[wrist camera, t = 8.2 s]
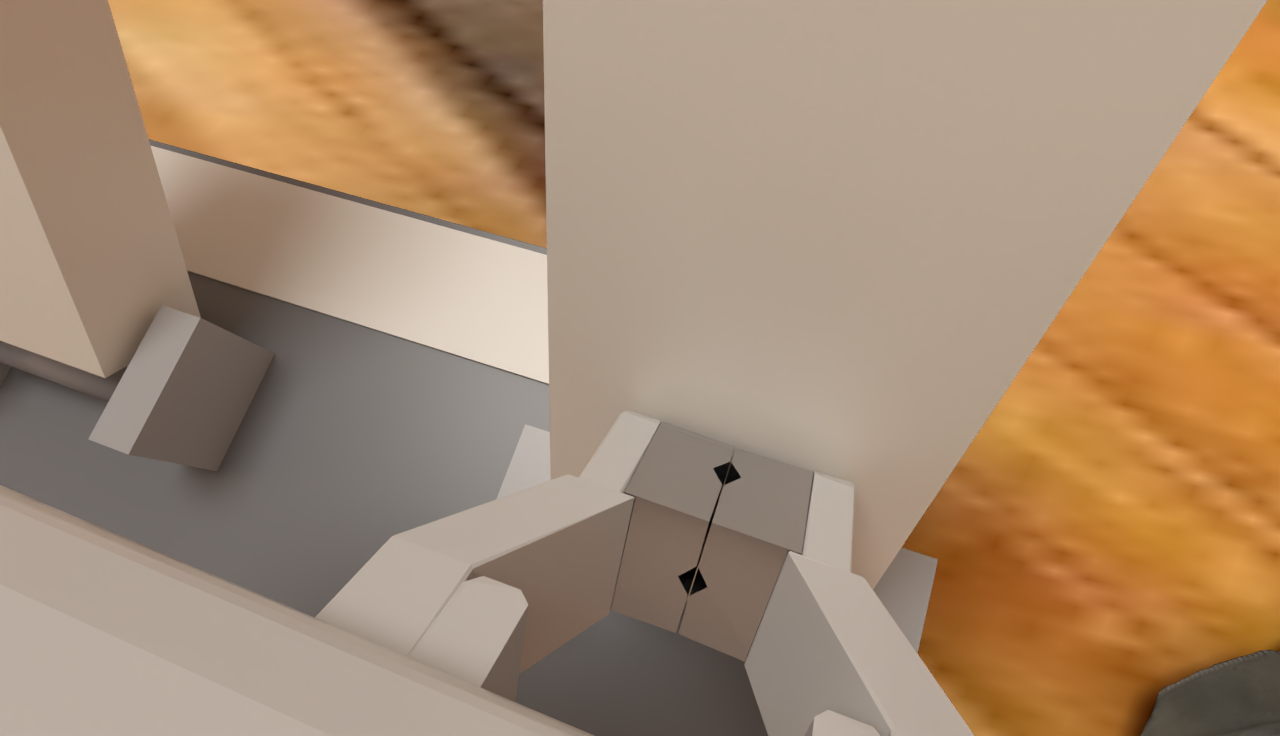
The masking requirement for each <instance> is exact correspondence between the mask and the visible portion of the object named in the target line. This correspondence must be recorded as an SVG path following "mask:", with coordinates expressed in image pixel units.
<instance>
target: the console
mask: <svg viewBox="0 0 1280 736" xmlns="http://www.w3.org/2000/svg"><path fill="white" fill-rule="evenodd" d="M149 143H150V146H151V149H152V153H153V156H154V160H155V163H156V167H157V170H158V173H159V177H160V180H161V184H162V187H163V190H164V194H165V197H166V201H167V204H168V207H169V211H170V214H171V218H172V221H173V224H174V228H175V231H176V235H177V238H178V242H179V245H180V248H181V252H182V255H183V259H184V262H185V265H186V269H187V272H188V276H189V279H190V282H191V286H192V289H193V293H194V296H195V300H196V303H197V306H198V310H199V313H200V317H201V318H200V317H197V316H194V315H191V314H188V313H185V312H182V311H178V310H175V309H172V308H169V307H166V306H163V305H161V307H160V308H159V310H158V312H157V314H156V316H155V318H154V319H153V321H152V323H151V325H150V327H149V329H148V330H147V332H146V334H145V336H144V338H143V340H142V341H141V343H140V345H139V347H138V349H137V351H136V352H135V354H134V356H133V358H132V360H131V362H130V363H129V365H128V367H127V369H126V371H125V373H124V374H123V376H122V378H121V380H120V382H119V384H118V385H117V387H116V389H115V391H114V393H113V395H112V396H111V398H110V400H109V402H107V401H105V400H102V399H99V398H97V397H94V396H91V395H88V394H86V393H83V392H80V391H77V390H75V389H72V388H69V387H66V386H64V385H61V384H58V383H55V382H53V381H50V380H47V379H45V378H42V377H39V376H36V375H34V374H31V373H28V372H25V371H23V370H20V369H17V368H14V367H12V366H9V365H6V364H4V363H1V362H0V485H2V486H4V487H6V488H9V489H11V490H13V491H16V492H18V493H21V494H23V495H25V496H28V497H30V498H32V499H35V500H37V501H40V502H42V503H44V504H47V505H49V506H51V507H54V508H56V509H59V510H61V511H63V512H66V513H68V514H70V515H73V516H75V517H78V518H80V519H82V520H85V521H87V522H89V523H92V524H94V525H97V526H99V527H101V528H104V529H106V530H108V531H111V532H113V533H116V534H118V535H120V536H123V537H125V538H127V539H130V540H132V541H135V542H137V543H139V544H142V545H144V546H146V547H149V548H151V549H154V550H156V551H158V552H161V553H163V554H165V555H168V556H170V557H173V558H175V559H177V560H180V561H182V562H184V563H187V564H189V565H192V566H194V567H196V568H199V569H201V570H203V571H206V572H208V573H211V574H213V575H215V576H218V577H220V578H222V579H225V580H227V581H229V582H232V583H234V584H237V585H239V586H241V587H244V588H246V589H248V590H251V591H253V592H256V593H258V594H260V595H263V596H265V597H267V598H270V599H272V600H275V601H277V602H279V603H282V604H284V605H286V606H289V607H291V608H294V609H296V610H298V611H301V612H303V613H305V614H308V615H310V616H313V617H316V616H317V615H318V614H319V613H320V612H321V610H322V609H323V608H324V607H325V606H326V605H327V604H328V603H329V602H330V601H331V600H332V599H333V598H334V597H335V596H336V595H337V594H338V593H339V591H340V590H341V589H342V588H343V587H344V586H345V585H346V584H347V583H348V582H349V581H350V580H351V579H352V578H353V577H354V576H355V575H356V574H357V572H358V571H359V570H360V569H361V568H362V567H363V566H364V565H365V564H366V563H367V562H368V561H369V560H370V559H371V558H372V557H373V556H374V554H375V553H376V552H377V551H378V550H379V549H380V548H381V547H382V546H383V545H384V544H385V543H386V542H387V541H388V540H389V539H390V538H391V537H392V536H394V535H396V534H399V533H402V532H405V531H408V530H411V529H414V528H416V527H419V526H422V525H425V524H428V523H431V522H433V521H436V520H439V519H442V518H445V517H448V516H450V515H453V514H456V513H459V512H462V511H465V510H467V509H470V508H473V507H476V506H479V505H482V504H485V503H487V502H490V501H493V500H496V499H499V498H502V497H504V496H507V495H510V494H513V493H516V492H519V491H521V490H524V489H527V488H530V487H533V486H536V485H539V484H541V483H544V482H547V481H550V480H551V476H550V413H549V350H548V287H547V248H543V247H539V246H536V245H532V244H528V243H525V242H521V241H517V240H514V239H510V238H507V237H503V236H499V235H496V234H492V233H488V232H485V231H481V230H477V229H474V228H470V227H466V226H463V225H459V224H456V223H452V222H448V221H445V220H441V219H437V218H434V217H430V216H426V215H423V214H419V213H415V212H412V211H408V210H405V209H401V208H397V207H394V206H390V205H386V204H383V203H379V202H375V201H372V200H368V199H364V198H361V197H357V196H354V195H350V194H346V193H343V192H339V191H335V190H332V189H328V188H324V187H321V186H317V185H313V184H310V183H306V182H303V181H299V180H295V179H292V178H288V177H284V176H281V175H277V174H273V173H270V172H266V171H262V170H259V169H255V168H252V167H248V166H244V165H241V164H237V163H233V162H230V161H226V160H222V159H219V158H215V157H211V156H208V155H204V154H201V153H197V152H193V151H190V150H186V149H182V148H179V147H175V146H171V145H168V144H164V143H160V142H157V141H153V140H150V139H149ZM937 563H938V559H935V558H932V557H929V556H926V555H923V554H920V553H917V552H914V551H911V550H908V549H905V548H902V547H901V549H900V550H899V552H898V553H897V555H896V556H895V558H894V559H893V561H892V562H891V564H890V565H889V567H888V568H887V570H886V571H885V573H884V574H883V576H882V577H881V579H880V580H879V582H878V583H877V585H876V586H875V588H874V589H873V590H874V592H875V593H876V595H877V596H878V598H879V599H880V600H881V602H882V603H883V605H884V606H885V608H886V609H887V610H888V612H889V613H890V615H891V616H892V618H893V619H894V621H895V622H896V623H897V625H898V626H899V628H900V629H901V631H902V632H903V633H904V635H905V636H906V638H907V639H908V641H909V642H910V644H911V645H912V646H913V648H914V649H915V651H916V652H917V653H918V649H919V644H920V640H921V635H922V631H923V626H924V622H925V617H926V613H927V608H928V603H929V599H930V594H931V590H932V585H933V581H934V576H935V572H936V567H937ZM684 613H685V612H683V614H682V617H681V620H680V622H679V625H678V628H677V631H676V633H674V632H671V631H669V630H666V629H663V628H660V627H657V626H654V625H652V624H649V623H646V622H643V621H640V620H637V619H634V618H632V617H629V616H626V615H623V614H620V613H617V612H615V611H612V610H610V612H609V614H608V615H607V616H605V617H604V618H602V619H601V620H599V621H598V622H596V623H595V624H593V625H592V626H590V627H589V628H587V629H586V630H584V631H583V632H581V633H580V634H578V635H577V636H575V637H574V638H572V639H571V640H569V641H568V642H567V643H565V644H564V645H562V646H561V647H559V648H558V649H556V650H555V651H553V652H552V653H550V654H549V655H547V656H546V657H544V658H543V659H541V660H540V661H538V662H537V663H535V664H534V665H532V666H531V667H529V668H528V669H526V670H525V671H523V672H522V673H520V674H519V680H518V688H517V696H516V703H518V704H521V705H523V706H526V707H528V708H530V709H533V710H535V711H537V712H540V713H542V714H544V715H547V716H549V717H552V718H554V719H556V720H559V721H561V722H563V723H566V724H568V725H571V726H573V727H575V728H578V729H580V730H582V731H585V732H587V733H590V734H592V735H594V736H768V734H767V731H766V728H765V725H764V722H763V719H762V716H761V713H760V710H759V707H758V704H757V701H756V698H755V695H754V692H753V689H752V686H751V683H750V680H749V677H748V675H747V672H746V669H745V666H744V664H745V661H742V660H740V659H737V658H735V657H732V656H730V655H728V654H725V653H723V652H720V651H718V650H716V649H713V648H711V647H708V646H706V645H703V644H701V643H699V642H696V641H694V640H691V639H689V638H687V637H684V636H682V635H679V630H680V627H681V623H682V620H683V616H684Z"/></svg>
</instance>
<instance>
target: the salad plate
mask: <svg viewBox="0 0 1280 736" xmlns="http://www.w3.org/2000/svg"><path fill="white" fill-rule="evenodd" d="M1140 736H1280V650H1279V651H1277V652H1276V651H1272V650H1264V651H1258V652H1255V653H1253V654H1250V655H1246V656H1242V657H1238V658H1234V659H1231V660H1228V661H1225V662H1221V663H1218V664H1215V665H1213V666H1212V667H1210V668H1207V669H1204V670H1200V671H1198V672H1196V673H1194V674H1193V675H1191V676H1189V677H1187V678H1184V679H1182V680H1181V681H1179V682H1177V683H1175V684H1171V685H1169V686H1167V687H1165V688H1163V689H1162V690H1161V691H1160V692H1159V693H1158V696H1157V699H1156V702H1155V705H1154V708H1153V711H1152V714H1151V717H1150V718H1149V720H1148V721H1147V722H1146V724H1145V727H1144V730H1143V733H1142V734H1141V735H1140Z"/></svg>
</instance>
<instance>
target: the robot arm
mask: <svg viewBox="0 0 1280 736" xmlns="http://www.w3.org/2000/svg"><path fill="white" fill-rule="evenodd" d="M734 449H735V446H732V445H729V444H726V443H723V442H721V441H718V440H715V439H712V438H709V437H706V436H703V435H700V434H698V433H695V432H692V431H689V430H686V429H683V428H680V427H677V426H675V425H672V424H669V423H666V422H661V421H660V420H658V419H654V418H651V417H648V416H645V415H642V414H639V413H636V412H633V411H629V410H626V411H624V412H622V413H621V414H620V415H619V417H618V418H617V420H616V421H615V423H614V425H613V426H612V428H611V429H610V431H609V432H608V434H607V435H606V437H605V438H604V440H603V441H602V443H601V444H600V446H599V447H598V449H597V451H596V452H595V454H594V455H593V457H592V458H591V460H590V461H589V463H588V464H587V466H586V467H585V469H584V470H583V472H582V473H581V475H580V477H579V478H578V477H575V476H573V475H570V474H567V475H564V476H561V477H558V478H556V479H553V480H550V481H547V482H544V483H541V484H539V485H536V486H533V487H530V488H527V489H524V490H521V491H519V492H516V493H513V494H510V495H507V496H504V497H502V498H499V499H496V500H493V501H490V502H487V503H485V504H482V505H479V506H476V507H473V508H470V509H467V510H465V511H462V512H459V513H456V514H453V515H450V516H448V517H445V518H442V519H439V520H436V521H433V522H431V523H428V524H425V525H422V526H419V527H416V528H414V529H411V530H408V531H405V532H402V533H399V534H396V535H394V536H392V537H391V538H390V539H389V540H388V541H387V542H386V543H385V544H384V545H383V546H382V547H381V548H380V549H379V550H378V551H377V552H376V553H375V554H374V556H373V557H372V558H371V559H370V560H369V561H368V562H367V563H366V564H365V565H364V566H363V567H362V568H361V569H360V570H359V571H358V572H357V574H356V575H355V576H354V577H353V578H352V579H351V580H350V581H349V582H348V583H347V584H346V585H345V586H344V587H343V588H342V589H341V590H340V591H339V593H338V594H337V595H336V596H335V597H334V598H333V599H332V600H331V601H330V602H329V603H328V604H327V605H326V606H325V607H324V608H323V609H322V610H321V612H320V613H319V614H318V615H317V616H316V617H313V616H310V615H308V614H305V613H303V612H301V611H298V610H296V609H294V608H291V607H289V606H286V605H284V604H282V603H279V602H277V601H275V600H272V599H270V598H267V597H265V596H263V595H260V594H258V593H256V592H253V591H251V590H248V589H246V588H244V587H241V586H239V585H237V584H234V583H232V582H229V581H227V580H225V579H222V578H220V577H218V576H215V575H213V574H211V573H208V572H206V571H203V570H201V569H199V568H196V567H194V566H192V565H189V564H187V563H184V562H182V561H180V560H177V559H175V558H173V557H170V556H168V555H165V554H163V553H161V552H158V551H156V550H154V549H151V548H149V547H146V546H144V545H142V544H139V543H137V542H135V541H132V540H130V539H127V538H125V537H123V536H120V535H118V534H116V533H113V532H111V531H108V530H106V529H104V528H101V527H99V526H97V525H94V524H92V523H89V522H87V521H85V520H82V519H80V518H78V517H75V516H73V515H70V514H68V513H66V512H63V511H61V510H59V509H56V508H54V507H51V506H49V505H47V504H44V503H42V502H40V501H37V500H35V499H32V498H30V497H28V496H25V495H23V494H21V493H18V492H16V491H13V490H11V489H9V488H6V487H4V486H2V485H0V736H594V735H592V734H590V733H587V732H585V731H582V730H580V729H578V728H575V727H573V726H571V725H568V724H566V723H563V722H561V721H559V720H556V719H554V718H552V717H549V716H547V715H544V714H542V713H540V712H537V711H535V710H533V709H530V708H528V707H526V706H523V705H521V704H518V703H516V696H517V688H518V680H519V674H520V673H522V672H523V671H525V670H526V669H528V668H529V667H531V666H532V665H534V664H535V663H537V662H538V661H540V660H541V659H543V658H544V657H546V656H547V655H549V654H550V653H552V652H553V651H555V650H556V649H558V648H559V647H561V646H562V645H564V644H565V643H567V642H568V641H569V640H571V639H572V638H574V637H575V636H577V635H578V634H580V633H581V632H583V631H584V630H586V629H587V628H589V627H590V626H592V625H593V624H595V623H596V622H598V621H599V620H601V619H602V618H604V617H605V616H607V615H608V614H609V612H610V610H612V611H615V612H617V613H620V614H623V615H626V616H629V617H632V618H634V619H637V620H640V621H643V622H646V623H649V624H652V625H654V626H657V627H660V628H663V629H666V630H669V631H671V632H674V633H676V631H677V628H678V625H679V622H680V620H681V617H682V614H683V611H684V608H685V605H686V602H687V599H688V596H689V599H688V602H687V606H686V609H685V613H684V616H683V620H682V623H681V627H680V630H679V635H682V636H684V637H687V638H689V639H691V640H694V641H696V642H699V643H701V644H703V645H706V646H708V647H711V648H713V649H716V650H718V651H720V652H723V653H725V654H728V655H730V656H732V657H735V658H737V659H740V660H742V661H745V664H744V666H745V669H746V672H747V675H748V677H749V680H750V683H751V686H752V689H753V692H754V695H755V698H756V701H757V704H758V707H759V710H760V713H761V716H762V719H763V722H764V725H765V728H766V731H767V734H768V736H974V734H973V733H972V731H971V730H970V728H969V727H968V726H967V724H966V723H965V721H964V720H963V718H962V717H961V715H960V714H959V713H958V711H957V710H956V708H955V707H954V705H953V704H952V703H951V701H950V700H949V698H948V697H947V695H946V694H945V692H944V691H943V690H942V688H941V687H940V685H939V684H938V682H937V681H936V680H935V678H934V677H933V675H932V674H931V672H930V671H929V669H928V668H927V667H926V665H925V664H924V662H923V661H922V659H921V658H920V657H919V655H918V654H917V652H916V651H915V649H914V648H913V646H912V645H911V644H910V642H909V641H908V639H907V638H906V636H905V635H904V633H903V632H902V631H901V629H900V628H899V626H898V625H897V623H896V622H895V621H894V619H893V618H892V616H891V615H890V613H889V612H888V610H887V609H886V608H885V606H884V605H883V603H882V602H881V600H880V599H879V598H878V596H877V595H876V593H875V592H874V590H873V589H872V587H871V586H870V585H869V583H868V582H867V580H866V579H865V578H864V577H862V576H859V575H856V574H853V573H852V565H853V540H854V515H855V490H856V487H855V486H854V484H853V482H850V481H846V480H843V479H839V478H836V477H832V476H829V475H826V474H822V473H819V472H815V471H809V470H806V469H803V468H800V467H796V466H793V465H790V464H787V463H783V462H780V461H777V460H774V459H770V458H767V457H764V456H761V455H757V454H754V453H751V452H748V451H744V450H741V449H738V448H736V451H735V453H734V456H733V459H732V462H731V458H732V455H733V452H734ZM730 462H731V465H730ZM729 465H730V468H729ZM728 469H729V472H728ZM727 472H728V475H727ZM726 476H727V478H726ZM725 479H726V481H725ZM724 482H725V484H724ZM723 485H724V487H723ZM722 488H723V490H722ZM721 491H722V493H721ZM720 494H721V496H720ZM719 498H720V499H719ZM716 508H717V509H716ZM715 511H716V512H715ZM704 546H705V547H704ZM703 549H704V550H703ZM699 562H700V563H699ZM698 565H699V566H698ZM697 567H698V570H697ZM696 570H697V573H696ZM695 574H696V576H695ZM694 577H695V580H694ZM693 580H694V583H693ZM692 583H693V586H692ZM691 586H692V589H691ZM690 590H691V592H690ZM689 593H690V595H689Z"/></svg>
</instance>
